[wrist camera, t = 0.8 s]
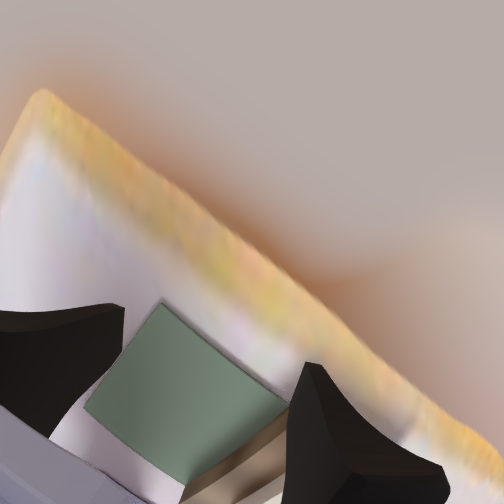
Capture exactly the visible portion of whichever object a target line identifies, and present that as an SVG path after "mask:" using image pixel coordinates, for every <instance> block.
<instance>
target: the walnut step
mask: <svg viewBox="0 0 504 504" xmlns="http://www.w3.org/2000/svg"><path fill="white" fill-rule="evenodd" d="M289 406H290V404H289ZM289 406H288V407H287V408H286V409H285V410H284V411H283V412H282V413H281V414H279V415H278V416H277V417H276V418H275V419H274V420H272V421H271V422H270V423H269V424H268V425H266V426H265V427H264V428H263V429H262V430H260V431H259V432H258V433H257V434H256V435H254V436H253V437H252V438H251V439H249V440H248V441H247V442H246V443H244V444H243V445H242V446H240V447H239V448H238V449H237V450H235V451H234V452H233V453H231V454H230V455H229V456H227V457H226V458H225V459H223V460H222V461H221V462H219V463H218V464H217V465H215V466H214V467H212V468H211V469H210V470H208V471H207V472H205V473H204V474H202V475H201V476H200V477H198V478H197V479H195V480H194V481H192V482H191V483H189V484H188V485H186V486H185V488H184V491H183V494H182V496H181V499H180V501H179V504H236V503H238V502H239V501H241V500H243V499H244V498H246V497H248V496H249V495H251V494H253V493H254V492H256V491H258V490H259V489H261V488H262V487H264V486H266V485H267V484H269V483H270V482H272V481H273V480H275V479H276V478H278V477H279V476H281V475H282V474H284V473H285V472H286V427H287V418H288V412H289Z"/></svg>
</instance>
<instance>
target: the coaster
mask: <svg viewBox="0 0 504 504" xmlns="http://www.w3.org/2000/svg"><path fill="white" fill-rule="evenodd" d="M284 482H285V473H284V474H282V475H281V476H279V477H278V478H276V479H275V480H273V481H272V482H270V483H269V484H267V485H266V486H264V487H262V488H261V489H259V490H258V491H256V492H254V493H253V494H251V495H249V496H248V497H246V498H244V499H243V500H241V501H239V502H238V503H236V504H281V500H282V494H283V488H284Z"/></svg>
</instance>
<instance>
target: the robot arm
mask: <svg viewBox="0 0 504 504" xmlns="http://www.w3.org/2000/svg"><path fill="white" fill-rule="evenodd" d="M124 312H125V308H124V307H121V306H118V305H116V304H113V303H106V304H97V305H91V306H85V307H78V308H72V309H64V310H56V311H47V312H14V311H2V310H0V504H147V503H145V502H143V501H142V500H140V499H139V498H137V497H136V496H134V495H133V494H131V493H130V492H128V491H127V490H126V489H124V488H123V487H121V486H120V485H119V484H117V483H116V482H114V481H113V480H112V479H110V478H109V477H108V476H107V475H105V474H104V473H102V472H101V471H99V470H98V469H96V468H95V467H93V466H92V465H90V464H89V463H87V462H86V461H84V460H82V459H81V458H79V457H77V456H75V455H74V454H72V453H70V452H68V451H67V450H65V449H63V448H62V447H60V446H58V445H57V444H55V443H54V442H52V441H50V440H49V437H50V435H51V434H52V432H53V431H54V430H55V428H56V427H57V425H58V424H59V422H60V421H61V419H62V418H63V417H64V415H65V414H66V413H67V412H68V410H69V409H70V408H71V406H72V405H73V404H74V403H75V402H76V401H77V400H78V398H79V397H81V396H82V395H83V394H84V393H85V392H86V391H87V390H88V389H89V388H90V387H91V386H92V385H93V384H94V383H95V382H96V381H97V380H98V379H99V378H100V377H101V376H102V375H103V374H104V373H105V372H106V371H107V370H108V369H109V368H110V367H111V366H112V364H113V363H114V362H115V360H116V359H117V357H118V356H119V355H120V353H121V352H122V342H123V325H124ZM449 495H450V485H449V482H448V480H447V477H446V475H445V472H444V470H443V468H442V466H440V465H438V464H435V463H433V462H431V461H428V460H426V459H424V458H421V457H419V456H417V455H415V454H413V453H411V452H409V451H408V450H406V449H404V448H402V447H401V446H399V445H397V444H396V443H394V442H393V441H391V440H390V439H388V438H387V437H386V436H384V435H383V434H382V433H380V432H379V431H378V430H376V429H375V428H374V427H373V426H372V425H371V424H370V423H369V422H367V421H366V420H365V419H364V418H363V417H362V416H361V415H360V414H359V413H358V412H357V411H356V410H355V408H354V407H353V406H352V405H351V404H350V403H349V402H348V400H347V399H346V398H345V397H344V395H343V394H342V393H341V392H340V390H339V389H338V388H337V386H336V385H335V383H334V382H333V380H332V379H331V378H330V376H329V375H328V373H327V372H326V370H325V369H324V368H323V366H322V365H319V364H315V363H310V362H305V365H304V367H303V370H302V373H301V375H300V378H299V381H298V384H297V386H296V389H295V391H294V394H293V397H292V399H291V402H290V406H289V412H288V418H287V427H286V472H285V482H284V488H283V494H282V500H281V504H445V502H446V501H447V499H448V497H449Z"/></svg>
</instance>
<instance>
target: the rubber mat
mask: <svg viewBox="0 0 504 504" xmlns="http://www.w3.org/2000/svg"><path fill="white" fill-rule="evenodd" d="M288 406H289V404H288V403H287V402H285V401H284V400H282V399H281V398H280V397H278V396H277V395H275V394H274V393H273V392H271V391H270V390H269V389H267V388H266V387H265V386H263V385H262V384H260V383H259V382H258V381H256V380H255V379H254V378H252V377H251V376H250V375H249V374H247V373H246V372H245V371H243V370H242V369H241V368H239V367H238V366H237V365H236V364H234V363H233V362H232V361H230V360H229V359H228V358H227V357H225V356H224V355H223V354H222V353H220V352H219V351H218V350H217V349H215V348H214V347H213V346H212V345H211V344H209V343H208V342H207V341H206V340H204V339H203V338H202V337H201V336H200V335H198V334H197V333H196V332H195V331H194V330H193V329H191V328H190V327H189V326H188V325H187V324H185V323H184V322H183V321H182V320H181V319H180V318H179V317H177V316H176V315H175V314H174V313H173V312H172V311H171V310H169V309H168V308H167V307H166V306H165V305H164V304H163V303H162V302H161V303H160V304H159V305H158V307H157V308H156V309H155V311H154V312H153V313H152V315H151V316H150V317H149V318H148V320H147V321H146V322H145V324H144V325H143V326H142V328H141V329H140V330H139V332H138V333H137V334H136V336H135V337H134V338H133V340H132V341H131V342H130V344H129V345H128V346H127V348H126V349H125V350H124V352H123V353H122V354H121V356H120V357H119V359H118V360H117V361H116V363H115V364H114V365H113V367H112V368H111V369H110V371H109V372H108V374H107V375H106V376H105V378H104V379H103V380H102V382H101V383H100V385H99V386H98V387H97V389H96V390H95V392H94V393H93V394H92V396H91V397H90V399H89V400H88V402H87V403H86V404H85V406H84V407H83V408H84V409H85V410H86V411H87V412H88V413H89V414H90V415H91V416H92V417H94V418H95V419H96V420H97V421H98V422H99V423H100V424H102V425H103V426H104V427H105V428H106V429H107V430H109V431H110V432H111V433H112V434H113V435H115V436H116V437H117V438H118V439H120V440H121V441H122V442H123V443H125V444H126V445H127V446H128V447H130V448H131V449H132V450H134V451H135V452H136V453H138V454H139V455H140V456H142V457H143V458H144V459H146V460H147V461H148V462H150V463H151V464H153V465H154V466H156V467H157V468H158V469H160V470H161V471H163V472H164V473H166V474H167V475H169V476H170V477H172V478H173V479H175V480H177V481H178V482H180V483H181V484H183V485H185V486H186V485H188V484H189V483H191V482H192V481H194V480H195V479H197V478H198V477H200V476H201V475H202V474H204V473H205V472H207V471H208V470H210V469H211V468H212V467H214V466H215V465H217V464H218V463H219V462H221V461H222V460H223V459H225V458H226V457H227V456H229V455H230V454H231V453H233V452H234V451H235V450H237V449H238V448H239V447H240V446H242V445H243V444H244V443H246V442H247V441H248V440H249V439H251V438H252V437H253V436H254V435H256V434H257V433H258V432H259V431H260V430H262V429H263V428H264V427H265V426H266V425H268V424H269V423H270V422H271V421H272V420H274V419H275V418H276V417H277V416H278V415H279V414H281V413H282V412H283V411H284V410H285V409H286V408H287V407H288Z"/></svg>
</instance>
